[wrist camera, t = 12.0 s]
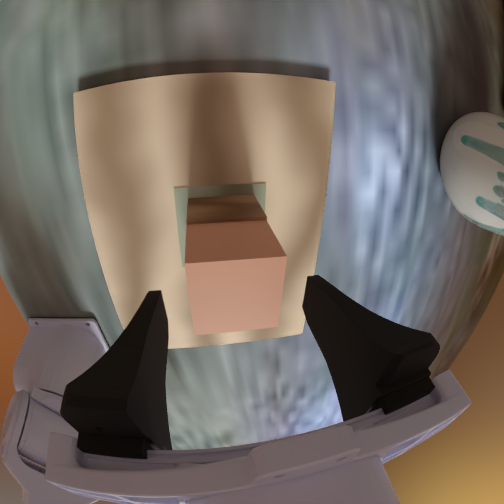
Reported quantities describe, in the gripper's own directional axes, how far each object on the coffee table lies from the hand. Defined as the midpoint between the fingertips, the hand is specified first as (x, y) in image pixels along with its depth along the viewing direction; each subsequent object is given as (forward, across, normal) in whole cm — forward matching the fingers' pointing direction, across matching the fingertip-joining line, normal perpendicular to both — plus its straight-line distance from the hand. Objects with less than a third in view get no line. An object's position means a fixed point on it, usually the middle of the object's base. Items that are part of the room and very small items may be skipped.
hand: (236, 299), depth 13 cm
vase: (+9, -25, -7) cm, 28 cm away
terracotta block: (+4, 0, 0) cm, 4 cm away
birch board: (+9, +1, +1) cm, 9 cm away
